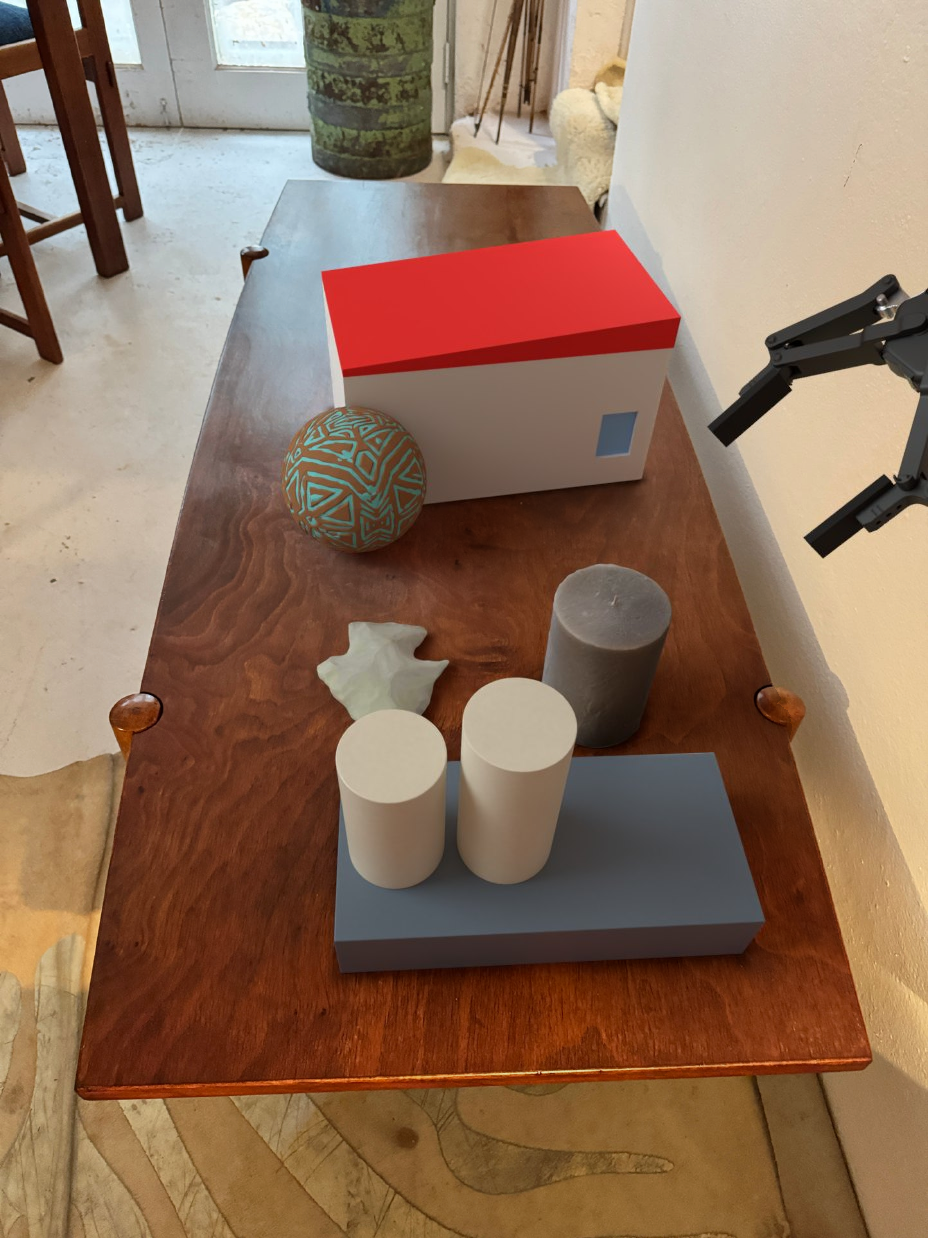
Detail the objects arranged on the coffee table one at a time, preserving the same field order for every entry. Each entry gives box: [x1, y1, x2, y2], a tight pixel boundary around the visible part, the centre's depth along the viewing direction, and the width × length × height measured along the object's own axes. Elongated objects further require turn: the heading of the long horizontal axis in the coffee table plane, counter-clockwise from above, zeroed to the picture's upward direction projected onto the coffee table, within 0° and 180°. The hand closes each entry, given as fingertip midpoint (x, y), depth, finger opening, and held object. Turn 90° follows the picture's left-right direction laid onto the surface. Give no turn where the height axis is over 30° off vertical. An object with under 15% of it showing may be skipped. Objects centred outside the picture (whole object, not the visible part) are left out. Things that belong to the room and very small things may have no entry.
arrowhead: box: [316, 621, 450, 722], centre depth 78 cm, size 12×3×15 cm
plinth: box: [333, 752, 766, 974], centre depth 65 cm, size 30×14×6 cm, turn 93°
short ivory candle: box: [335, 709, 448, 889], centre depth 58 cm, size 7×7×12 cm
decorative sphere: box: [280, 407, 427, 554], centre depth 88 cm, size 15×15×15 cm
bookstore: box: [320, 229, 682, 505], centre depth 98 cm, size 21×35×21 cm, turn 102°
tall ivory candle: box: [457, 677, 577, 884], centre depth 57 cm, size 7×7×15 cm
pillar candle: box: [541, 563, 673, 749], centre depth 73 cm, size 10×10×15 cm
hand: (761, 489), depth 64 cm, fingers open, 13 cm apart
